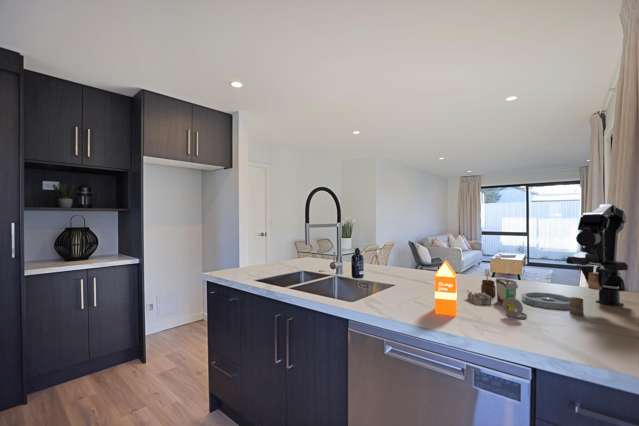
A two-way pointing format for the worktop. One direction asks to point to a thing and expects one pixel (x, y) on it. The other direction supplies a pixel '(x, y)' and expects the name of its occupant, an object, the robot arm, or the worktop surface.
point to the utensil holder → (488, 286)
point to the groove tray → (546, 300)
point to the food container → (505, 289)
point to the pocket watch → (513, 307)
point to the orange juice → (445, 290)
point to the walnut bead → (576, 306)
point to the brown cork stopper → (593, 281)
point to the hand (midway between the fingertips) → (595, 285)
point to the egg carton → (479, 298)
